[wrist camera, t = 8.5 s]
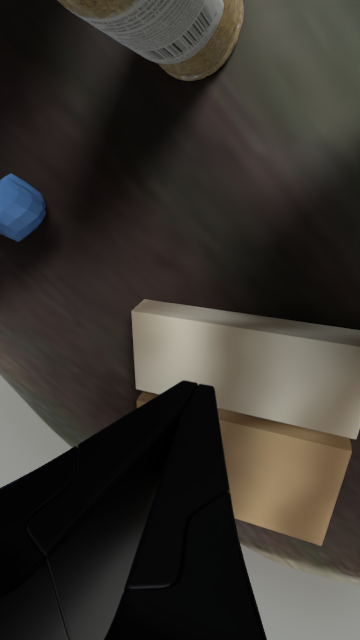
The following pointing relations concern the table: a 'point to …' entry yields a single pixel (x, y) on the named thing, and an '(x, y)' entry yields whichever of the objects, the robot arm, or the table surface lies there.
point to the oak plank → (281, 472)
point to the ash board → (252, 363)
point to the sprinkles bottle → (169, 30)
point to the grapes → (19, 208)
